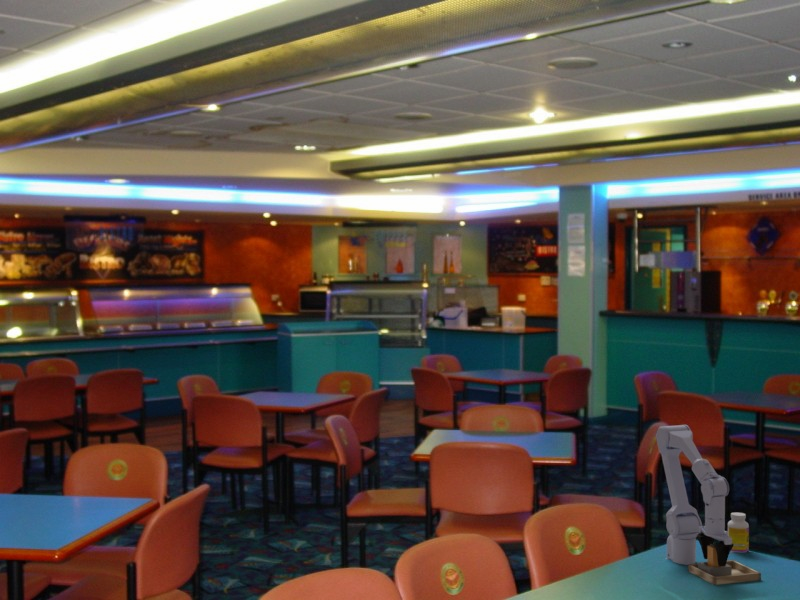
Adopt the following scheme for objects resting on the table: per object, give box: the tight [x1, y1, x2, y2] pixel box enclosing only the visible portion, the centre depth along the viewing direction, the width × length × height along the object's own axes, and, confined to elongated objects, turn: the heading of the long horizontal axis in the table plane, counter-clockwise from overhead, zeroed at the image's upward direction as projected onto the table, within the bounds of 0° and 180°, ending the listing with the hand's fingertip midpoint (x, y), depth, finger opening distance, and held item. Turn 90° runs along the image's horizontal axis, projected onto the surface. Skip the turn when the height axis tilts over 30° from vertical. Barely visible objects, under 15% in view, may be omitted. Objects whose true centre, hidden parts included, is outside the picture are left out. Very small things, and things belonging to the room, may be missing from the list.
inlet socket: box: [697, 561, 732, 577], centre depth 304 cm, size 6×7×4 cm
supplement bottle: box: [727, 512, 750, 554], centre depth 332 cm, size 7×7×13 cm
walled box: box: [687, 559, 762, 586], centre depth 305 cm, size 14×16×3 cm
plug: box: [706, 543, 718, 567], centre depth 304 cm, size 3×4×8 cm
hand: (714, 562), depth 304 cm, fingers open, 7 cm apart
